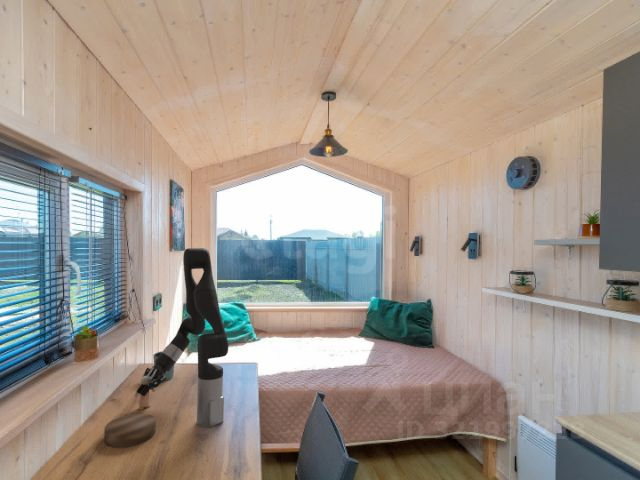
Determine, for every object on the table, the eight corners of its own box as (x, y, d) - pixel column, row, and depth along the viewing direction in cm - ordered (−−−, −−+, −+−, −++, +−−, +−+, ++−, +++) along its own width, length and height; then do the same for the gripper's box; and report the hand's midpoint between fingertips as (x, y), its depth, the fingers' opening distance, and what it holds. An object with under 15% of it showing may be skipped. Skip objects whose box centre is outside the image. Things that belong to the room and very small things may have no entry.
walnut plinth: (164, 434, 131) (164, 422, 131) (116, 453, 118) (117, 441, 118) (142, 419, 141) (142, 409, 141) (96, 436, 128) (96, 425, 128)
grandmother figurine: (138, 411, 147) (138, 379, 148) (133, 409, 150) (133, 377, 150) (156, 405, 154) (157, 374, 154) (151, 402, 156) (152, 372, 156)
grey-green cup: (179, 375, 188) (179, 351, 188) (165, 382, 178) (166, 357, 178) (162, 373, 191) (162, 349, 191) (148, 380, 181) (148, 355, 181)
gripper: (155, 349, 162) (125, 385, 152) (172, 355, 154) (141, 394, 144) (166, 358, 166) (138, 394, 157) (183, 365, 158) (154, 403, 148)
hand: (140, 393), depth 150 cm, fingers closed on grandmother figurine, 2 cm apart
